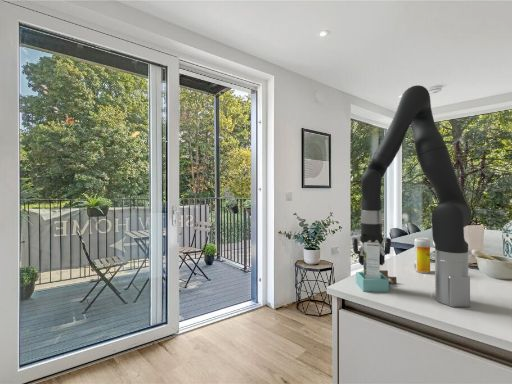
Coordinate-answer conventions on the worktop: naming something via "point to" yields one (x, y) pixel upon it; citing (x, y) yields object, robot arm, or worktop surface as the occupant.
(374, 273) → the syrup box
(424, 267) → the glass of beer
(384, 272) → the mount rails
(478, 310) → the worktop surface
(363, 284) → the teal square tray
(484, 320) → the worktop surface
